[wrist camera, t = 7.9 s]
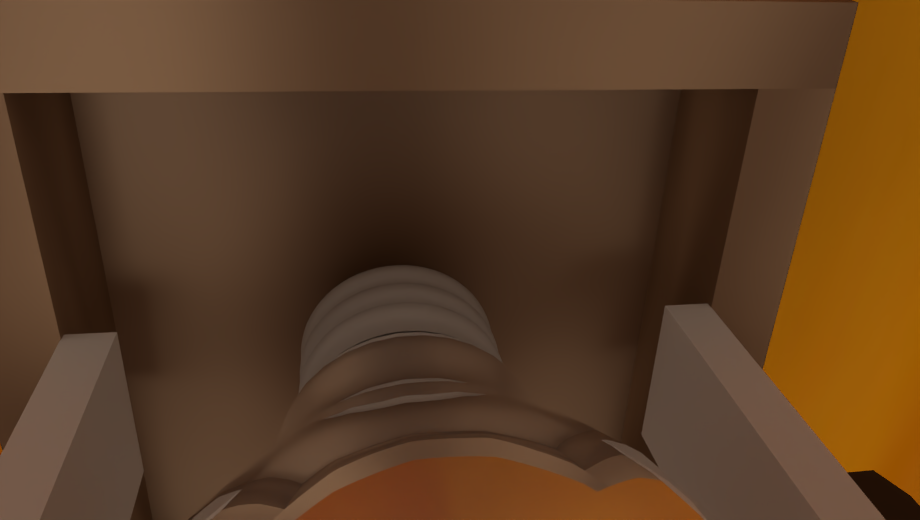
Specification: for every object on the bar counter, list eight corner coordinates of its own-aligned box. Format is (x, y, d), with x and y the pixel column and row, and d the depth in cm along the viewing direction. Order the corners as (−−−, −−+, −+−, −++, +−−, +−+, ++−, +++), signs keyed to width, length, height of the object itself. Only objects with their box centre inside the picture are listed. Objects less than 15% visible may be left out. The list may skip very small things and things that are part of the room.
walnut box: (695, -49, 16) (858, 2, 11) (614, 439, 22) (698, 613, 17) (23, -64, 14) (-134, -10, 9) (132, 475, 20) (71, 682, 15)
